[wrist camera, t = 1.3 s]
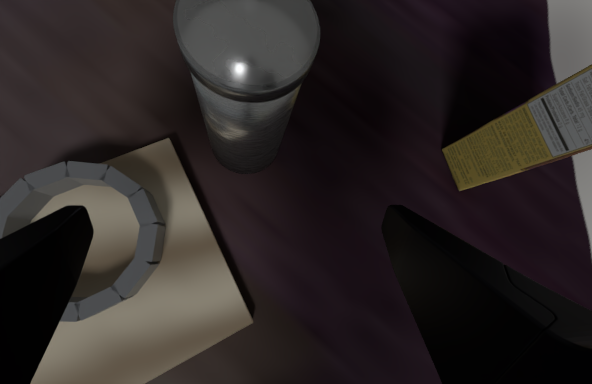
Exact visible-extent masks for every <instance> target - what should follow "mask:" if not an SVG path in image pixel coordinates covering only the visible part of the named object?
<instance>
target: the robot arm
mask: <svg viewBox="0 0 592 384" xmlns="http://www.w3.org/2000/svg"><path fill="white" fill-rule="evenodd" d="M382 233H383V237H384V240H385V243H386V247H387V250H388V253H389V256H390V260H391V263H392V266H393V269H394V272H395V274H396V277H397V279H398V282H399V284H400V286H401V289H402V291H403V293H404V296H405V298H406V300H407V302H408V305H409V307H410V309H411V312H412V314H413V316H414V319H415V321H416V323H417V326H418V328H419V330H420V333H421V335H422V337H423V340H424V342H425V344H426V347H427V349H428V351H429V354H430V356H431V358H432V361H433V363H434V365H435V368H436V370H437V372H438V375H439V377H440V379H441V382H442V384H592V311H591V310H589V309H587V308H585V307H583V306H581V305H579V304H577V303H575V302H573V301H571V300H569V299H567V298H565V297H563V296H561V295H560V294H558V293H556V292H554V291H552V290H550V289H548V288H546V287H544V286H542V285H541V284H539V283H537V282H535V281H533V280H531V279H530V278H528V277H526V276H524V275H523V274H521V273H519V272H517V271H515V270H514V269H512V268H510V267H509V266H507V265H503V263H502V262H500V261H498V260H496V259H495V258H493V257H491V256H489V255H488V254H486V253H484V252H482V251H481V250H479V249H477V248H475V247H474V246H472V245H470V244H469V243H467V242H465V241H463V240H462V239H460V238H458V237H456V236H455V235H453V234H451V233H449V232H448V231H446V230H444V229H443V228H441V227H439V226H437V225H436V224H434V223H432V222H430V221H429V220H427V219H425V218H423V217H422V216H420V215H418V214H416V213H415V212H413V211H411V210H410V209H408V208H406V207H404V206H403V205H390V206H388V208H387V210H386V213H385V216H384V219H383V222H382ZM93 235H94V229H93V225H92V223H91V220H90V217H89V214H88V211H87V209H86V207H85V206H83V205H67V206H64V207H63V208H61V209H59V210H57V211H55V212H53V213H51V214H49V215H47V216H45V217H43V218H41V219H39V220H37V221H35V222H33V223H31V224H29V225H27V226H25V227H23V228H21V229H19V230H17V231H15V232H13V233H11V234H9V235H7V236H5V237H3V238H1V239H0V384H30V383H31V381H32V379H33V377H34V375H35V373H36V371H37V368H38V366H39V364H40V362H41V360H42V358H43V356H44V354H45V352H46V349H47V347H48V345H49V343H50V341H51V339H52V337H53V335H54V333H55V330H56V328H57V326H58V324H59V322H60V320H61V318H62V316H63V314H64V311H65V309H66V307H67V305H68V303H69V301H70V299H71V297H72V295H73V292H74V290H75V288H76V286H77V283H78V280H79V278H80V275H81V272H82V269H83V266H84V263H85V260H86V257H87V254H88V251H89V248H90V245H91V242H92V239H93Z"/></svg>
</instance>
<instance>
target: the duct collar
mask: <svg viewBox="0 0 592 384" xmlns="http://www.w3.org/2000/svg"><path fill="white" fill-rule="evenodd" d="M24 178H25V179H22V178H20V179H19V180H18V181H17V182H16V183H15V184H14V185H13V186H12V187H11V188H10V189H9V190H8V191H7V192H6V193H5V194H4V195H3V196H2V197H1V198H0V239H1V238H3V237H5V236H7V235H9V234H11V233H13V232H15V231H17V230H19V229H21V228H23V227H25V226H27V225H29V224H30V223H31V220H32V219H33V218H34V217H35V216H36V215H37V214H38V213H39V212H40V211H41V209H42V208H43V207H44V206H45V205H46V204H47V203H48V202H49V201H50V200H51V199H52V198H53V197H54V196H56V195H59V194H61V193H64V192H67V191H69V190H72V189H74V188H77V187H80V186H82V185H93V186H105V187H112V188H114V189H115V190H117V191H118V192H120V193H121V194H123V195H124V196H126V197H127V198H128V200H129V202H130V204H131V207H132V209H133V211H134V214H135V216H136V218H137V221H138V223H139V225H140V228H139V234H138V240H137V246H136V252H135V258H134V259H133V260H132V262H131V263H130V264H129V265H128V267H127V268H126V269H125V270H124V272H123V273H122V274H121V275H120V277H119V278H118V279H117V280H116V282H115V283H114V284H113V285H112V286H111V287H109V288H107V289H105V290H103V291H101V292H98V293H96V294H94V295H92V296H90V297H71V299H70V301H69V303H68V305H67V307H66V309H65V311H64V314H63V316H62V318H61V320H60V321H61V322H77V321H80V320H81V321H82V320H84V319H87V318H89V317H91V316H94V315H96V314H99V313H101V312H103V311H105V310H107V309H109V308H111V307H113V306H115V305H117V304H119V303H121V302H123V301H125V300H127V299H129V298H131V297H133V295H135V294H137V293H138V292H139V290H140V289H141V288H142V286H143V285H144V284H145V282H146V281H147V280H148V278H149V277H150V276H151V275H152V273H153V272H154V271H155V269H156V268H157V267H158V265H159V263H157V262H156V261H161V257H162V250H163V243H164V236H165V230H166V227H164V226H163V225H165V222H164V220H163V218H162V215H161V213H160V211H159V208H158V206H157V204H156V202H155V199H154V197H153V195H152V194H150V192H149V191H147V190H146V189H144V188H143V187H141V186H140V185H139V184H137V183H136V182H134V181H133V180H131V179H130V178H128V177H127V176H125V175H124V174H122V173H121V172H119V171H118V170H116V169H115V168H113V167H112V166H109V165H106V164H95V163H85V162H75V161H68V163H66V162H61V163H58V164H55V165H53V166H50V167H47V168H44V169H41V170H39V171H36V172H33V173H30V174H28V175H25V176H24Z"/></svg>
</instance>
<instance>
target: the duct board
mask: <svg viewBox="0 0 592 384" xmlns="http://www.w3.org/2000/svg"><path fill="white" fill-rule="evenodd" d="M100 164H106V165H109V166H112V167H113V168H115V169H116V170H118V171H119V172H121V173H122V174H124V175H125V176H127V177H128V178H130V179H131V180H133V181H134V182H136V183H137V184H139V185H140V186H141V187H143V188H144V189H146V190H147V191H149V192H150V194H152V195H153V197H154V199H155V202H156V204H157V206H158V208H159V211H160V213H161V215H162V218H163V220H164V222H165V225H163V226H164V227H166V230H165V236H164V243H163V250H162V257H161V261H156V262H157V263H159V265H158V267H157V268H156V269H155V271H154V272H153V273H152V275H151V276H150V277H149V278H148V280H147V281H146V282H145V284H144V285H143V286H142V288H141V289H140V290H139V292H138V293H137V294H135V295H133V297H131V298H129V299H127V300H125V301H123V302H121V303H119V304H117V305H115V306H113V307H111V308H109V309H107V310H105V311H103V312H101V313H99V314H96V315H94V316H91V317H89V318H87V319H84V320H82V321H81V320H80V321H77V322H61V321H60V322H59V324H58V326H57V328H56V330H55V333H54V335H53V337H52V339H51V341H50V343H49V345H48V347H47V349H46V352H45V354H44V356H43V358H42V360H41V362H40V364H39V366H38V368H37V371H36V373H35V375H34V377H33V379H32V381H31V383H30V384H145V383H146V382H148V381H150V380H152V379H154V378H155V377H157V376H159V375H161V374H162V373H164V372H166V371H168V370H170V369H171V368H173V367H175V366H177V365H178V364H180V363H182V362H184V361H186V360H187V359H189V358H191V357H193V356H194V355H196V354H198V353H200V352H202V351H203V350H205V349H207V348H209V347H211V346H212V345H214V344H216V343H218V342H219V341H221V340H223V339H225V338H227V337H228V336H230V335H232V334H234V333H235V332H237V331H239V330H241V329H243V328H244V327H246V326H248V325H250V324H251V323H253V319H252V317H251V315H250V312H249V310H248V308H247V306H246V304H245V301H244V299H243V297H242V295H241V293H240V290H239V288H238V286H237V284H236V282H235V280H234V277H233V275H232V273H231V271H230V269H229V266H228V264H227V262H226V260H225V258H224V255H223V253H222V251H221V249H220V247H219V245H218V242H217V240H216V238H215V236H214V234H213V231H212V229H211V227H210V225H209V223H208V221H207V218H206V216H205V214H204V212H203V210H202V207H201V205H200V203H199V201H198V199H197V196H196V194H195V192H194V190H193V188H192V186H191V183H190V181H189V179H188V177H187V175H186V172H185V170H184V168H183V166H182V164H181V161H180V159H179V157H178V155H177V153H176V151H175V148H174V146H173V144H172V142H171V140H170V139H169V138H167V139H164V140H162V141H159V142H156V143H153V144H151V145H148V146H145V147H143V148H140V149H137V150H135V151H132V152H129V153H127V154H124V155H121V156H119V157H116V158H113V159H110V160H108V161H105V162H102V163H100ZM67 205H83V206H85V207H86V209H87V211H88V214H89V217H90V220H91V223H92V225H93V229H94V235H93V239H92V242H91V245H90V248H89V251H88V254H87V257H86V260H85V263H84V266H83V269H82V272H81V275H80V278H79V280H78V283H77V286H76V288H75V290H74V292H73V295H72V297H90V296H92V295H94V294H96V293H98V292H101V291H103V290H105V289H107V288H109V287H111V286H112V285H113V284H114V283H115V282H116V280H117V279H118V278H119V277H120V275H121V274H122V273H123V272H124V270H125V269H126V268H127V267H128V265H129V264H130V263H131V262H132V260H133V259H134V258H135V252H136V246H137V240H138V234H139V228H140V225H139V223H138V221H137V218H136V216H135V214H134V211H133V209H132V207H131V204H130V202H129V200H128V198H127V197H126V196H124V195H123V194H121V193H120V192H118V191H117V190H115V189H114V188H112V187H105V186H93V185H82V186H80V187H77V188H74V189H72V190H69V191H67V192H64V193H61V194H59V195H56V196H54V197H53V198H52V199H51V200H50V201H49V202H48V203H47V204H46V205H45V206H44V207H43V208H42V209H41V211H40V212H39V213H38V214H37V215H36V216H35V217H34V218H33V219H32V220H31V223H33V222H35V221H37V220H39V219H41V218H43V217H45V216H47V215H49V214H51V213H53V212H55V211H57V210H59V209H61V208H63V207H64V206H67ZM31 223H30V224H31Z"/></svg>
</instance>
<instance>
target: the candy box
mask: <svg viewBox="0 0 592 384" xmlns="http://www.w3.org/2000/svg"><path fill="white" fill-rule="evenodd" d="M591 149H592V65H590V66H588V67H586V68H585V69H583V70H581V71H579V72H577V73H576V74H574V75H572V76H570V77H568V78H567V79H565V80H563V81H561V82H560V83H558V84H556V85H554V86H552V87H551V88H549V89H547V90H545V91H543V92H542V93H540V94H538V95H536V96H535V97H533V98H531V99H529V100H528V101H526V102H524V103H522V104H521V105H519V106H517V107H515V108H513V109H512V110H510V111H508V112H506V113H505V114H503V115H501V116H500V117H498V118H496V119H494V120H492V121H490V122H489V123H487V124H485V125H483V126H482V127H480V128H478V129H476V130H475V131H473V132H471V133H470V134H468V135H466V136H464V137H463V138H461V139H459V140H457V141H455V142H454V143H452V144H450V145H448V146H447V147H445V148H443V149H442V151H443V154H444V156H445V159H446V161H447V164H448V166H449V169H450V171H451V173H452V176H453V178H454V181H455V183H456V186H457V188H458V190H460V191H461V190H464V189H468V188H471V187H475V186H478V185H481V184H484V183H487V182H491V181H494V180H497V179H501V178H504V177H507V176H510V175H514V174H517V173H520V172H523V171H526V170H529V169H532V168H535V167H539V166H542V165H545V164H548V163H551V162H554V161H557V160H560V159H563V158H566V157H569V156H572V155H575V154H578V153H581V152H584V151H587V150H591Z"/></svg>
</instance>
